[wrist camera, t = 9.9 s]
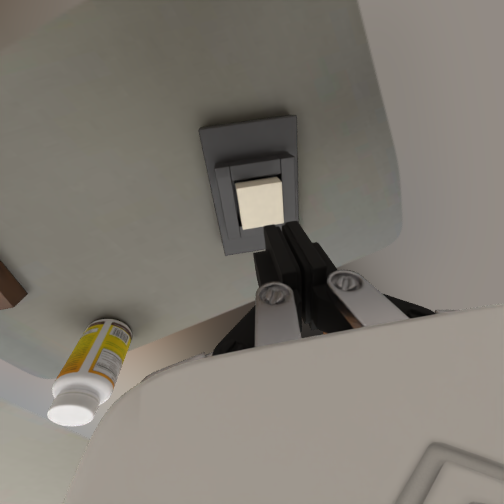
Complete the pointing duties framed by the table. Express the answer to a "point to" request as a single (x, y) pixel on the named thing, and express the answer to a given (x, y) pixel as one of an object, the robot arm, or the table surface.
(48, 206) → the table surface
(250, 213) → the key
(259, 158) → the stepped wall plate
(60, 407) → the supplement bottle
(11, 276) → the brown stepped switch base
